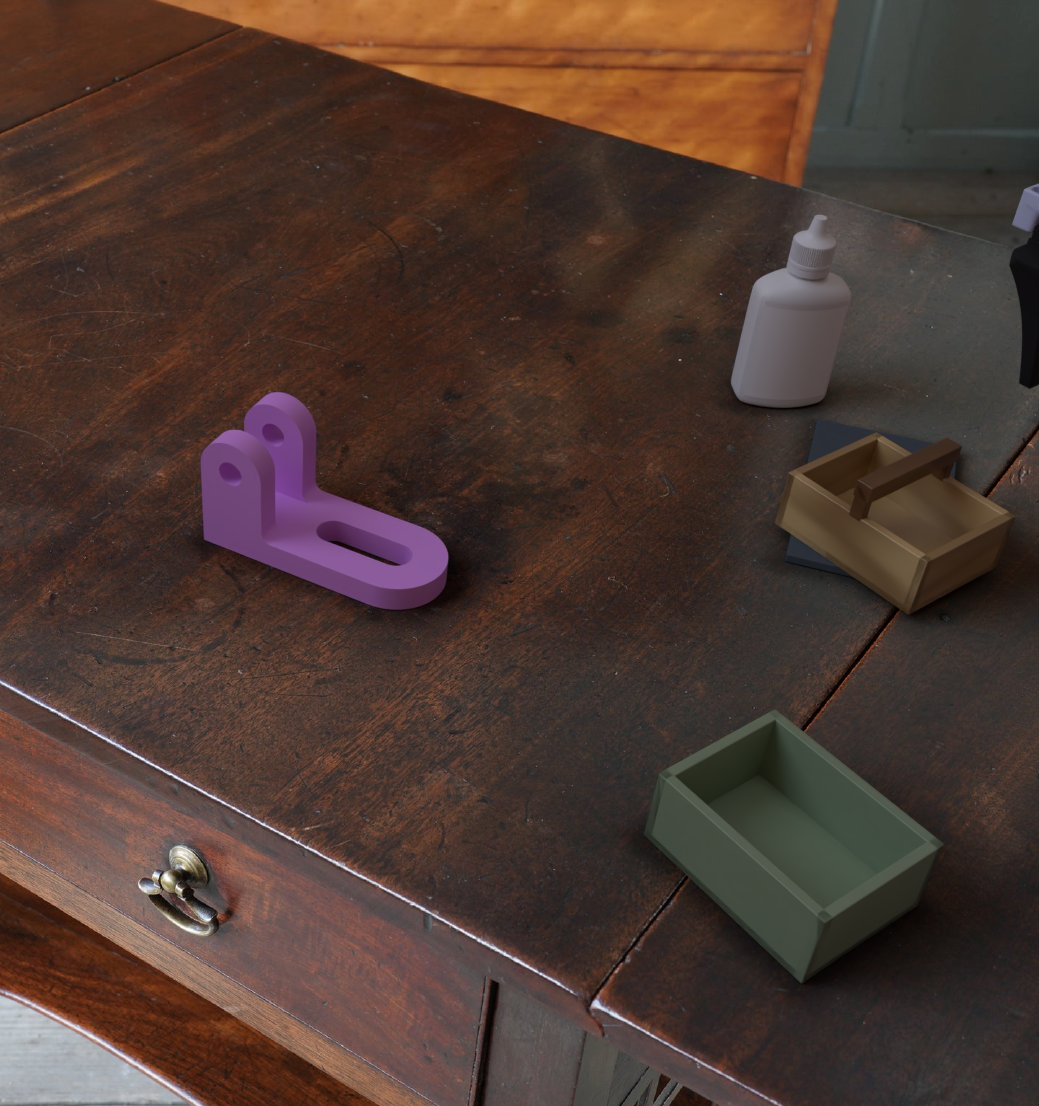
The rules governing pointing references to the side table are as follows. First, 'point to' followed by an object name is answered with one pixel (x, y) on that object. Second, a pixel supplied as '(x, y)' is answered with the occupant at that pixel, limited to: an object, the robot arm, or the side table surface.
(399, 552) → the bracket
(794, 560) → the mat
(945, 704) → the side table surface
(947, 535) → the top basket
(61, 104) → the side table surface
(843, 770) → the box
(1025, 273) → the robot arm
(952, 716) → the side table surface
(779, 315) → the eye dropper bottle
